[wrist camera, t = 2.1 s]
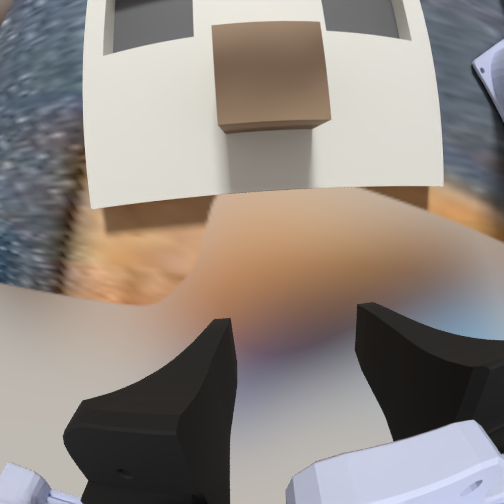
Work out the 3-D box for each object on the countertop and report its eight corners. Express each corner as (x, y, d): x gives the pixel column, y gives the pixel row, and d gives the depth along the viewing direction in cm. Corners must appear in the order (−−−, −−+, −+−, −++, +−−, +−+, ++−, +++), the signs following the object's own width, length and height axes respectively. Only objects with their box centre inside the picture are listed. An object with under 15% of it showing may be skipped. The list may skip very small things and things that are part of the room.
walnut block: (312, 129, 17) (331, 119, 13) (225, 133, 17) (217, 125, 13) (304, 50, 16) (320, 21, 12) (219, 54, 16) (211, 25, 12)
